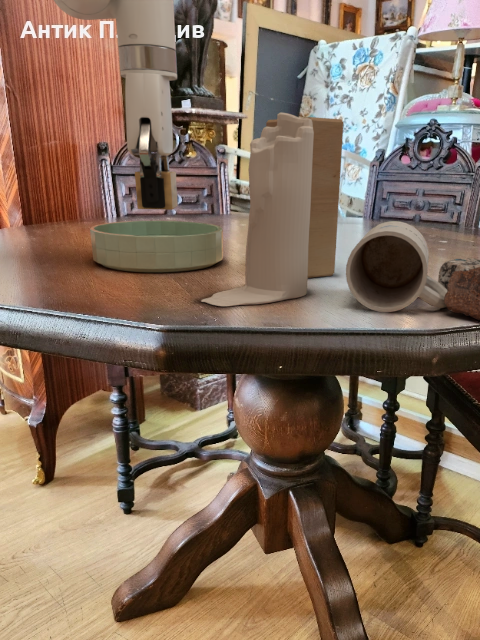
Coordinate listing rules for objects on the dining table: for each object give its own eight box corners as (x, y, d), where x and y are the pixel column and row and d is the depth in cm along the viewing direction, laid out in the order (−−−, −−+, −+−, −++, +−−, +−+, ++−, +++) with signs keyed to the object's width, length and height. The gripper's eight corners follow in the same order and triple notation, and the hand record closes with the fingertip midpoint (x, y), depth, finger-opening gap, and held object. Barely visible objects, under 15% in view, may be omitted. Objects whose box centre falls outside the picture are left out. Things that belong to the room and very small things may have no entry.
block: (137, 209, 80) (134, 171, 78) (144, 206, 85) (141, 170, 83) (172, 209, 80) (170, 172, 78) (177, 206, 85) (175, 171, 83)
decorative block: (262, 265, 85) (264, 119, 77) (294, 262, 87) (299, 122, 80) (302, 279, 76) (308, 116, 68) (336, 275, 79) (345, 119, 71)
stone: (464, 273, 63) (452, 259, 61) (529, 270, 58) (518, 255, 56) (450, 326, 62) (437, 314, 60) (514, 328, 57) (503, 315, 55)
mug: (343, 258, 70) (329, 273, 61) (392, 205, 66) (386, 213, 57) (413, 326, 71) (409, 350, 62) (465, 277, 67) (470, 296, 58)
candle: (189, 298, 64) (182, 104, 56) (279, 283, 73) (283, 114, 65) (228, 311, 59) (225, 101, 52) (319, 293, 68) (328, 112, 60)
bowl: (76, 272, 76) (71, 234, 74) (112, 250, 94) (109, 219, 92) (217, 275, 77) (216, 238, 75) (226, 252, 95) (226, 222, 93)
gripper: (134, 73, 83) (143, 201, 90) (103, 54, 67) (117, 211, 74) (185, 74, 84) (190, 202, 90) (165, 56, 68) (174, 212, 75)
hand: (157, 204), depth 82 cm, fingers closed on block, 5 cm apart
